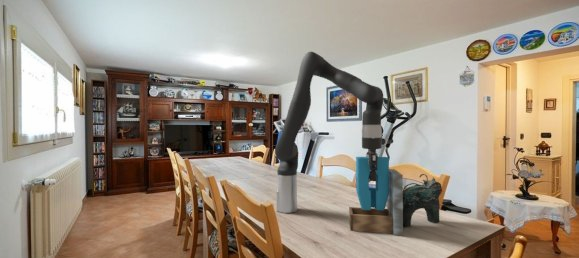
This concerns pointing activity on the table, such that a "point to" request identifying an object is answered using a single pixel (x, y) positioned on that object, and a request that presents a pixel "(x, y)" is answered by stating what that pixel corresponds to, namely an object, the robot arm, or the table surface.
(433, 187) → the dark green elephant figurine
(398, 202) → the wooden stand
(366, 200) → the block
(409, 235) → the table surface
